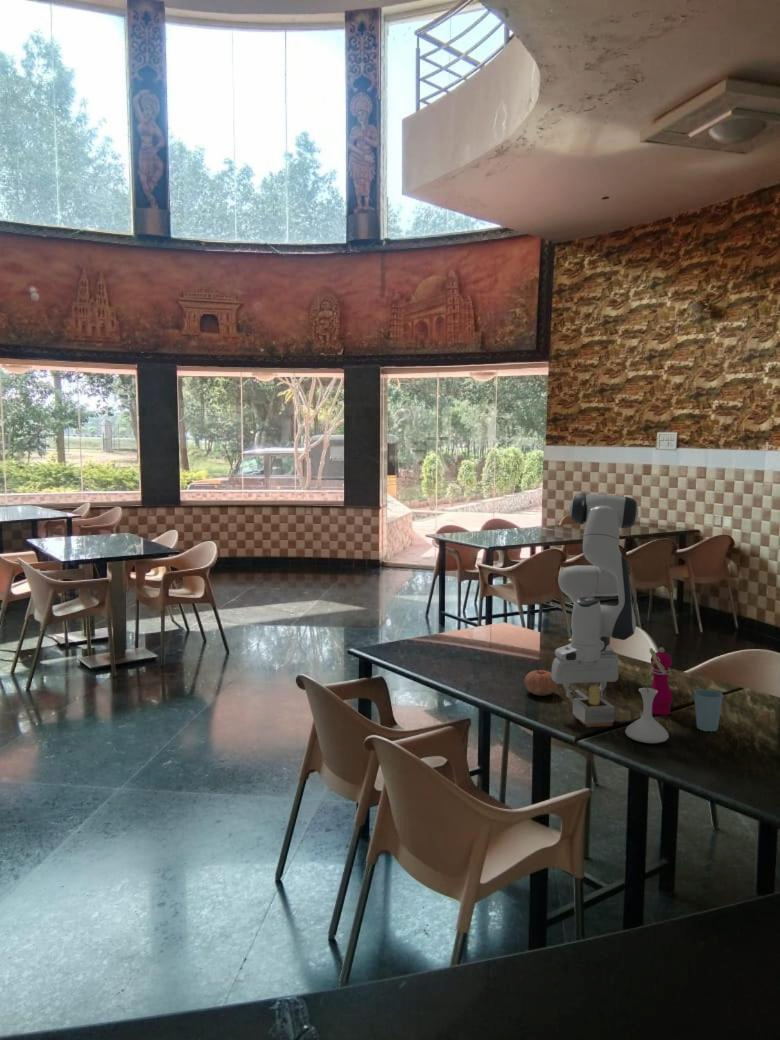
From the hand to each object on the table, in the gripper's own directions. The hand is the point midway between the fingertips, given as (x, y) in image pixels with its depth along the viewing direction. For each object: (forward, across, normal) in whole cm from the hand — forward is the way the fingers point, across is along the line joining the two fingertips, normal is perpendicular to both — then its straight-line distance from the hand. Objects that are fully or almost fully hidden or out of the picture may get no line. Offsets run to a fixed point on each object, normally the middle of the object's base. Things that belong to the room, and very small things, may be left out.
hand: (584, 696), depth 229 cm
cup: (+6, -30, +17) cm, 35 cm away
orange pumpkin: (+6, +6, -21) cm, 23 cm away
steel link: (+4, 0, +2) cm, 5 cm away
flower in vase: (+5, -9, +22) cm, 24 cm away
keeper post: (+5, 0, +7) cm, 9 cm away
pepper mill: (+6, -24, +1) cm, 25 cm away
